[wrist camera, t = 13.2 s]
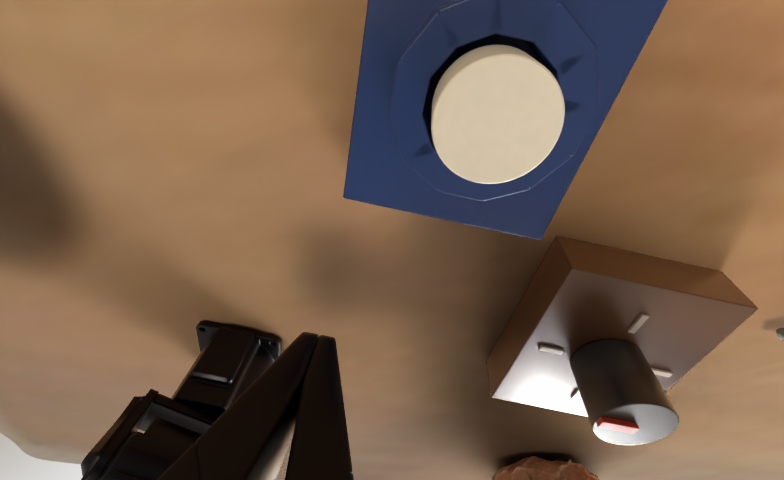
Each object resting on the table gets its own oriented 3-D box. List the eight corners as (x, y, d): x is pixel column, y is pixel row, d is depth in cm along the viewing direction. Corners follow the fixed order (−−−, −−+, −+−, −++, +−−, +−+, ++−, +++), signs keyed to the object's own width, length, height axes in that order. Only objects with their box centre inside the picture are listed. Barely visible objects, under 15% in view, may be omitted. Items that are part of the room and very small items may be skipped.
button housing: (529, 213, 20) (553, 270, 16) (353, 175, 20) (331, 223, 16) (661, -62, 13) (761, -82, 9) (394, -126, 13) (375, -177, 9)
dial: (657, 346, 21) (701, 418, 17) (620, 385, 23) (652, 457, 20) (589, 332, 21) (620, 403, 17) (558, 373, 23) (580, 443, 20)
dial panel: (612, 387, 28) (629, 428, 26) (486, 361, 28) (491, 400, 25) (722, 271, 21) (762, 310, 19) (556, 235, 21) (573, 270, 18)
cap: (521, 170, 14) (532, 195, 12) (420, 148, 14) (418, 170, 12) (569, 59, 12) (591, 71, 10) (448, 31, 12) (451, 39, 10)
